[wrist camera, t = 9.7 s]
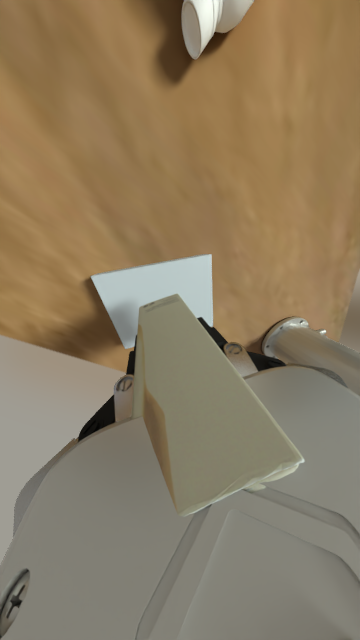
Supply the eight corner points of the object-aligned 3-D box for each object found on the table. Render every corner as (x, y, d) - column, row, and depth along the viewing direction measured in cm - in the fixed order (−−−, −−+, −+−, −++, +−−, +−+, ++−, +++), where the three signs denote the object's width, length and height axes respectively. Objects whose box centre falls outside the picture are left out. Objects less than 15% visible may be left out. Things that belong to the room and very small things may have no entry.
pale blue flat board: (203, 254, 20) (211, 254, 18) (206, 318, 26) (213, 326, 24) (98, 273, 18) (90, 276, 16) (127, 338, 24) (125, 348, 22)
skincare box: (137, 306, 13) (97, 567, 2) (178, 291, 13) (318, 458, 2) (160, 351, 16) (188, 542, 5) (192, 338, 16) (279, 497, 6)
